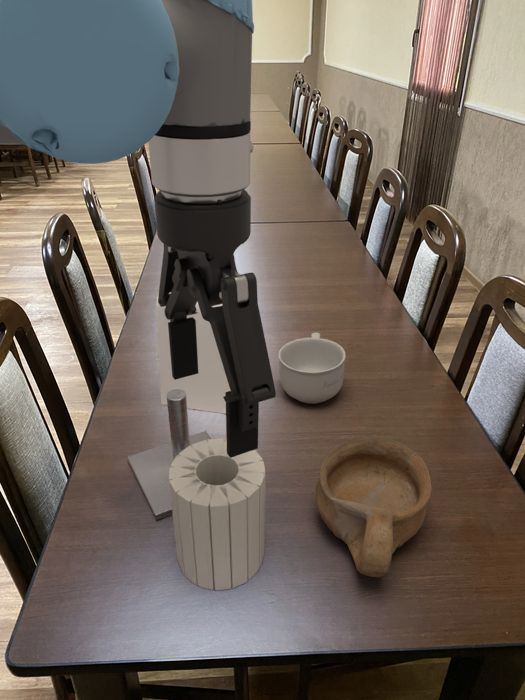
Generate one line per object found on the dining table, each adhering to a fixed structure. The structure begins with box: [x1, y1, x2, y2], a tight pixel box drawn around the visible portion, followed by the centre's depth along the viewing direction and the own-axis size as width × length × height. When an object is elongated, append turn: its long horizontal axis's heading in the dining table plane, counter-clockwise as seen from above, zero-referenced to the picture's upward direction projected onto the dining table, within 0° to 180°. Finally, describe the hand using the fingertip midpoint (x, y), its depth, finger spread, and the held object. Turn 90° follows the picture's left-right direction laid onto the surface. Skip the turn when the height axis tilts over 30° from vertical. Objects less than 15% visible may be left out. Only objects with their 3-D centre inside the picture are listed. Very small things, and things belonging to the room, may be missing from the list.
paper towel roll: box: [169, 437, 266, 591], centre depth 60 cm, size 10×10×13 cm
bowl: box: [315, 436, 433, 578], centre depth 63 cm, size 18×14×10 cm
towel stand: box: [126, 389, 212, 522], centre depth 70 cm, size 12×12×14 cm
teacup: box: [277, 332, 347, 405], centre depth 90 cm, size 14×11×8 cm
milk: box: [155, 292, 231, 415], centre depth 84 cm, size 12×12×26 cm
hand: (211, 409), depth 53 cm, fingers open, 13 cm apart
